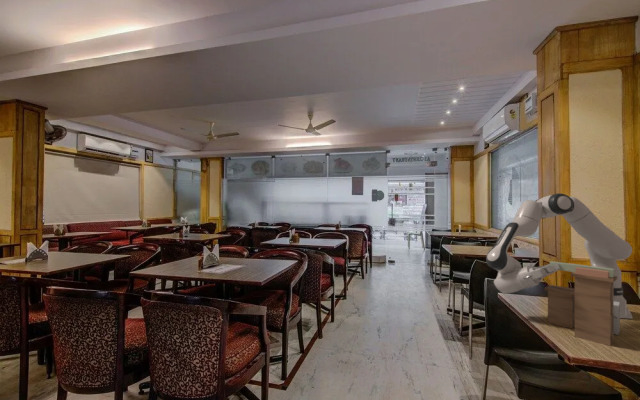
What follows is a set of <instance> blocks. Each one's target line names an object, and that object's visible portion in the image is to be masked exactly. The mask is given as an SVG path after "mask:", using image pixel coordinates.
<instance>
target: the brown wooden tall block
mask: <svg viewBox="0 0 640 400" xmlns="http://www.w3.org/2000/svg"><path fill="white" fill-rule="evenodd" d="M570 277H574V289H575V326H574V337H575V338H577V339H583V340H587V341H590V342H594V343H598V344H603V345H604V346H605V345H606V346H609V347H610V346H611V345H612V344H613V343H614V340H615V339H614V335H615V334H614V281H616V280H617V276H615V277H609V278H601V277H594V276H587V275H580V274H576V272H570Z"/></svg>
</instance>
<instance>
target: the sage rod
mask: <svg viewBox="0 0 640 400" xmlns="http://www.w3.org/2000/svg"><path fill="white" fill-rule="evenodd" d="M549 264H550V266H554V265H557V264H559V265H560V267H561V268H559V269H556V270H558V271H561V272H563V271H565V272H570V273H573V272H576V267H580V268H588V269H596V270H604V271H609V277H615V269H611V268H602V267H594V266H591V265H584V264H578V263H577V264H576V263H567V262H560V261H549Z"/></svg>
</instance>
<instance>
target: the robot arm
mask: <svg viewBox="0 0 640 400" xmlns="http://www.w3.org/2000/svg"><path fill="white" fill-rule="evenodd" d="M557 216H561V217H563V218H564V220H565V221H566V222H567V223H568V224H569V226H571V228H573V230H574V231H575V232H576V233H577V234H578V235H579V236H580V237H582V238H583V239H584V243H583V244H584V249H585V250H586V251H587V254H588V257H589V260H590V266H594V267H602V268H611V269H615V276H617V280H616V281H614V301H615V302H620V319H628V320H629V319H630V320H633V319H634V318H633V314H632V313H631V310H630V309H629V307H628V306H627V299H626V298H625V297H624V296H623V295H624V287H623V286H622V271H621V268H620V267H619V265H618V263H617V261H620V260H621V261H622V260H626V259H628V258H629V257H630V256H631V255H632V253H633V247H632V246H631V244H630V243H629V242H628V241H626V240H625V239H623V238H621V237H620V236H619V234H616V233H615V232H614V231H612V229H610V228H609V227H608V226H607V225H605V224H604V223H603V222H602V221H601V220H600V219H599V218H598V217H597V216H596V215H595V213H593V212H592V210H591V209H590V208H589V207H588V206H587V205H585V203H583V201H581V200H580V199H578V198H577V197H575V196H569V195H567V194H565V193H561V192H560V193H553V194H550V195H545V196H544V197H541V198H538V199H536V200H532V199H531V200H529V199H528V200H524V201H523V202H522V203H521V205H520V207H519V208H518V209H517V212H516V213H515V214H514V218H513V220H512V221H511V222H509V223H508V224H506V226H505V227H504V228H503V229H502V231H501V234H499V237H498V238H497V240H496V242H495V244H494V245H493V246H492V247H491V249H490V250H489V251H488V252H487V254H486V256H485V257H486V258H485V262H486V265H487V266H488V267H489V268H491V269H493V270H495V271H497V275H496V278H495V279H494V280H493V284H494V287H495V288H496V289H497V290H498V291H499V292H501V293H502V294H504V295H505V294H506V295H507V294H513V293H516V292H519V291H521V290H522V289H528V288H531V287H535V286H538V285H539V284H540V282H541V281H542V280H543V279H544V278H546V277H549V275H552V274H554V273H557V272H558V271H559V270H556V269H559V268H561V267H560V265H559V264H557V265H554V266H550V263H549V264H545V265H541V266H530V265H527V266H524V267H522V264H521V262H520V261H519V260H517V259H516V258H514V257H513V256H511V255H510V254H509V253H508V250H509V248H510V246H511V244H512V242H513V241H514V239H515V238H516V237H523V238H524V237H525V238H527V237H530V236H532V235H535V233H536V232H537V231H538V228H539V225H540V223H541V220H542V219H549V218H554V217H557Z"/></svg>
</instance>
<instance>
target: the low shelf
mask: <svg viewBox="0 0 640 400" xmlns="http://www.w3.org/2000/svg"><path fill="white" fill-rule="evenodd" d="M544 291H547V323H549V324H552V325H557V326H559V327H563V328H569V329H574V328H575V288H572V287H567V286H566V287H565V286H562V285H560V286H559V285H554V284H549V285H547V286H545V287H544Z"/></svg>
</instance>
